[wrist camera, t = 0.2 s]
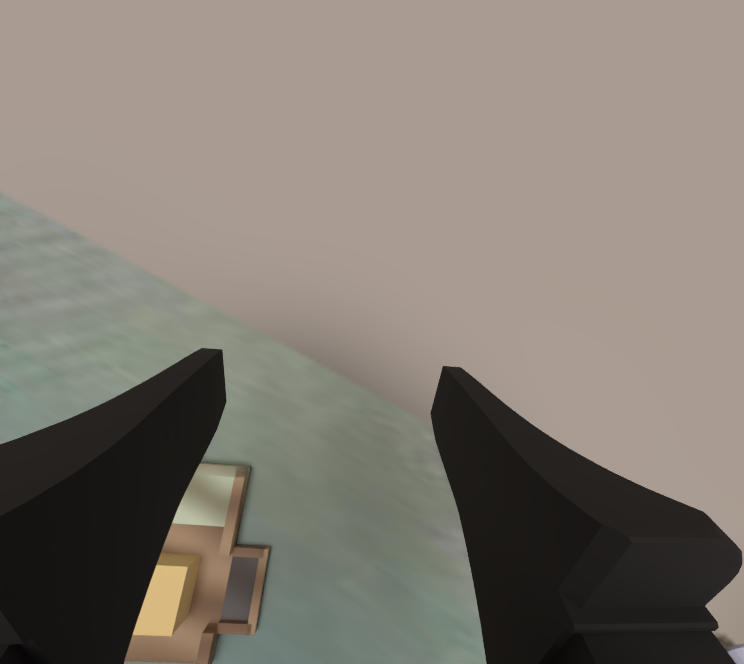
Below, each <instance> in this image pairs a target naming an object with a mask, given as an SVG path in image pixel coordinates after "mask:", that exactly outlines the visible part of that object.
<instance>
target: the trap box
mask: <svg viewBox="0 0 744 664" xmlns="http://www.w3.org/2000/svg"><path fill="white" fill-rule="evenodd" d="M250 469H251V467H246V466H235V465H223V464H212V463H200V464H199V466H198V468H197V470H196V472H195V474H194V476H193V478H192V480H191V482H190V484H189V486H188V488H187V490H186V492H185V494H184V496H183V498H182V500H181V503H180V505H179V507H178V509H177V512H176V514H175V517H174V520H173V522H172V525H171V527H170V530H169V533H168V535H167V538H166V540H165V543H164V546H163V548H162V551H161V553H176V554H193V555H202V556H201V561H200V565H199V570H198V574H197V579H196V583H195V587H194V592H193V596H192V601H191V605H190V610H189V614H188V617H187V618H186V619H185V620H184V622H183V623H182V624H181V625H180V626H179V628H178V629H177V630H176V631H175V633H174V634H173V635H172V636H150V635H132V638H131V641H130V645H129V648H128V651H127V654H126V657H125V661H143V662H181V663H196V664H212V662H213V659H214V654H215V648H216V643H217V638H218V634H244V635H255V632H256V629H257V623H258V617H259V611H260V605H261V599H262V593H263V587H264V581H265V575H266V569H267V563H268V557H269V550H270V546H255V545H239V544H236V541H237V536H238V531H239V525H240V520H241V515H242V510H243V505H244V500H245V495H246V489H247V484H248V479H249V474H250Z"/></svg>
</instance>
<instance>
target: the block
mask: <svg viewBox="0 0 744 664" xmlns="http://www.w3.org/2000/svg"><path fill="white" fill-rule="evenodd" d="M201 556H202V555H193V554H176V553H161V554H160V557H159V560H158V562H157V565H156V568H155V571H154V573H153V576H152V579H151V582H150V585H149V587H148V590H147V593H146V596H145V599H144V602H143V605H142V608H141V611H140V614H139V617H138V620H137V623H136V626H135V629H134V632H133V635H150V636H172V635H173V634H174V633H175V631H176V630H177V629H178V628H179V626H180V625H181V624H182V623H183V622H184V620H185V619H186V618H187V617H188V614H189V610H190V605H191V601H192V596H193V592H194V587H195V583H196V579H197V574H198V570H199V565H200V561H201Z"/></svg>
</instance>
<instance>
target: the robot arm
mask: <svg viewBox="0 0 744 664" xmlns="http://www.w3.org/2000/svg"><path fill="white" fill-rule="evenodd" d="M225 404H226V390H225V377H224V365H223V353H222V350H220V349H207V348H201V349H199V350H198V351H196V352H194V353H192V354H190V355H189V356H187V357H185V358H184V359H182V360H180V361H179V362H177V363H175V364H174V365H172V366H170V367H169V368H167V369H165V370H164V371H162V372H160V373H159V374H157V375H155V376H154V377H152V378H150V379H148V380H147V381H145V382H143V383H141V384H139V385H137V386H135V387H134V388H132V389H130V390H128V391H126V392H124V393H122V394H121V395H119V396H117V397H115V398H113V399H111V400H109V401H107V402H105V403H103V404H101V405H99V406H97V407H94V408H92V409H90V410H88V411H85V412H83V413H81V414H79V415H76V416H74V417H72V418H70V419H67V420H65V421H62V422H60V423H57V424H54V425H52V426H49V427H47V428H44V429H41V430H39V431H36V432H34V433H31V434H28V435H26V436H23V437H20V438H18V439H15V440H12V441H9V442H6V443H3V444H0V664H124V661H125V657H126V654H127V651H128V648H129V645H130V641H131V638H132V635H133V632H134V629H135V626H136V623H137V620H138V617H139V614H140V611H141V608H142V605H143V602H144V599H145V596H146V593H147V590H148V587H149V585H150V582H151V579H152V576H153V573H154V571H155V568H156V565H157V562H158V560H159V557H160V554H161V551H162V548H163V546H164V543H165V540H166V538H167V535H168V533H169V530H170V527H171V525H172V522H173V520H174V517H175V514H176V512H177V509H178V507H179V505H180V503H181V500H182V498H183V496H184V494H185V492H186V490H187V488H188V486H189V484H190V482H191V480H192V478H193V476H194V474H195V472H196V470H197V468H198V466H199V464H200V462H201V460H202V458H203V456H204V454H205V452H206V450H207V448H208V446H209V444H210V442H211V440H212V438H213V436H214V434H215V432H216V430H217V428H218V425H219V422H220V419H221V416H222V413H223V410H224V407H225ZM431 418H432V424H433V430H434V435H435V440H436V443H437V446H438V450H439V453H440V456H441V459H442V462H443V465H444V468H445V471H446V474H447V477H448V480H449V483H450V486H451V489H452V492H453V495H454V498H455V501H456V505H457V508H458V512H459V515H460V520H461V524H462V529H463V533H464V538H465V542H466V547H467V552H468V557H469V562H470V567H471V572H472V577H473V582H474V588H475V594H476V599H477V605H478V611H479V617H480V622H481V629H482V635H483V642H484V649H485V655H486V662H487V664H744V644H739V645H734V646H731V647H728V648H726V649H724V647H723V646H722V645H721V643H720V642H719V641H718V639H717V638H716V637H715V635H714V634H713V633H712V631H715V630H716V629H718V628H719V627H718V622H717V621H716V620H715V619H714V617H713V616H712V615H711V613H710V612H709V611H708V610H707V608H706V607H705V605H706V604H707V603H708V602H709V601H710V600H711V599H713V597H715V596H716V595H717V594H718V593H719V592H720V591H721V590H722V589H723V588H724V587H726V586H727V585H728V584H729V583H730V582H731V581H732V580H733V578H734V577H735V576H736V575H737V574H738V572H739V570H740V568H741V566H742V551H741V550H740V549H739V548H738V546H737V545H736V544H735V543H734V542H733V541H732V540H731V539H730V538H729V537H728V536H727V535H726V534H725V533H724V532H723V531H722V530H721V529H720V528H719V527H718V526H717V525H716V524H715V523H714V522H713V521H712V520H711V518H709V516H707V515H706V514H705V513H704V512H703V511H700V510H697V509H695V508H693V507H690V506H688V505H685V504H683V503H681V502H678V501H676V500H673V499H671V498H669V497H666V496H664V495H661V494H659V493H656V492H654V491H652V490H649V489H647V488H645V487H643V486H641V485H638V484H636V483H634V482H632V481H630V480H627V479H626V478H623V477H621V476H619V475H617V474H615V473H613V472H611V471H609V470H607V469H605V468H603V467H601V466H600V465H597V464H596V463H594V462H592V461H590V460H588V459H587V458H585V457H583V456H581V455H580V454H578V453H576V452H574V451H573V450H571V449H569V448H567V447H566V446H564V445H562V444H561V443H559V442H558V441H556V440H554V439H553V438H551V437H549V436H548V435H547V434H545V433H544V432H542V431H541V430H539V429H538V428H536V427H535V426H533V425H532V424H531V423H529V422H528V421H526V420H525V419H524V418H523V417H521V416H520V415H519V414H517V413H516V412H515V411H513V410H512V409H511V408H509V407H508V406H507V405H505V404H504V403H503V402H502V401H501V400H500V399H498V398H497V397H496V396H495V395H493V394H492V393H491V392H490V391H489V390H488V389H486V388H485V387H484V386H483V385H482V384H481V383H479V382H478V381H477V380H476V379H475V378H473V377H472V376H471V375H470V374H468V373H467V372H466V371H465V370H463V369H462V368H460V367H448V366H443V368H442V372H441V376H440V379H439V383H438V387H437V391H436V395H435V398H434V403H433V406H432V410H431Z"/></svg>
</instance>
